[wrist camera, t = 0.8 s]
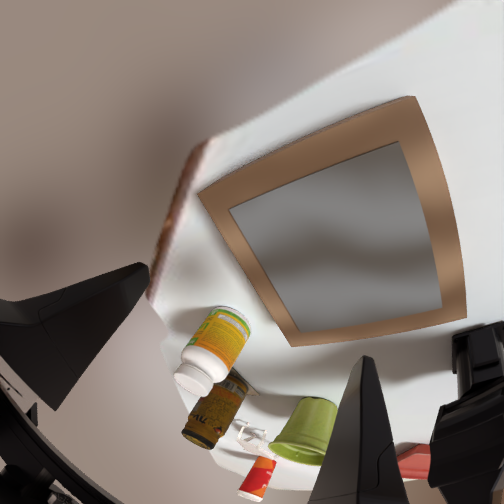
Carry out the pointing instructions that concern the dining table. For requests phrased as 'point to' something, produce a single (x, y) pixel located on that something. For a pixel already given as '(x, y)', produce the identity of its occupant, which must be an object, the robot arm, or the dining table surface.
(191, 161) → the dining table surface
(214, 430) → the condiment
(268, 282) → the framed mirror
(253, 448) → the miniature table
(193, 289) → the dining table surface
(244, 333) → the supplement bottle
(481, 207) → the dining table surface
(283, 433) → the plant pot
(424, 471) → the plant saucer
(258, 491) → the paper cup
